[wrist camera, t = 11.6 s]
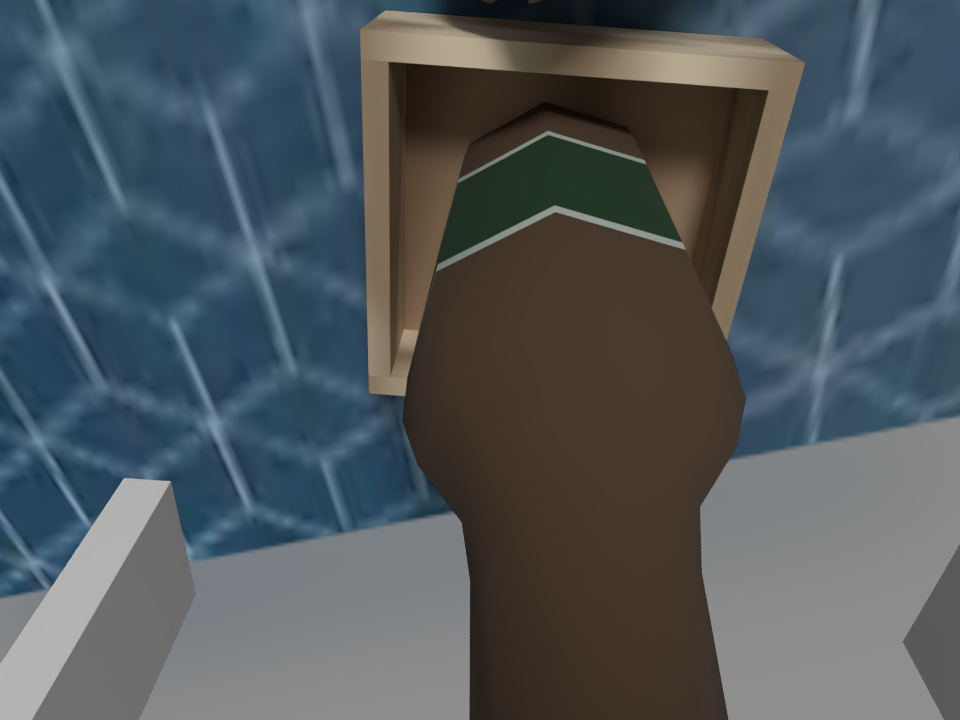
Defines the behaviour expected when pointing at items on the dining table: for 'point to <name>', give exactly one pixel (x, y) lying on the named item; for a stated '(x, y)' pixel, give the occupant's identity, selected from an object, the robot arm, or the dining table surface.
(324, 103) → the dining table surface
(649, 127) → the caddy
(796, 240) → the dining table surface
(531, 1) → the rock
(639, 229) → the beer bottle
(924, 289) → the dining table surface
